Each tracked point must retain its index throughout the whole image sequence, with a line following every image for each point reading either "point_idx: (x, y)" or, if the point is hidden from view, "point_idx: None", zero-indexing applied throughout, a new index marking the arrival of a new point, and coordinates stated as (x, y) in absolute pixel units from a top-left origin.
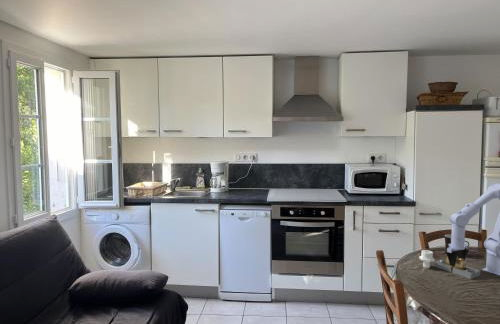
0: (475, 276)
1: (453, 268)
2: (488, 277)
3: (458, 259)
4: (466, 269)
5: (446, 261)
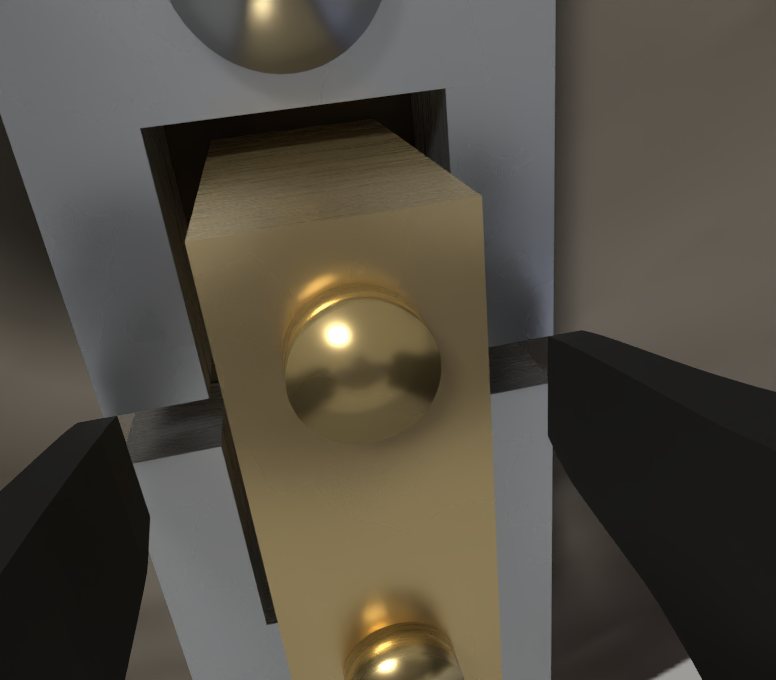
0: None
1: None
2: (560, 669)
3: (339, 627)
4: None
5: (205, 192)
